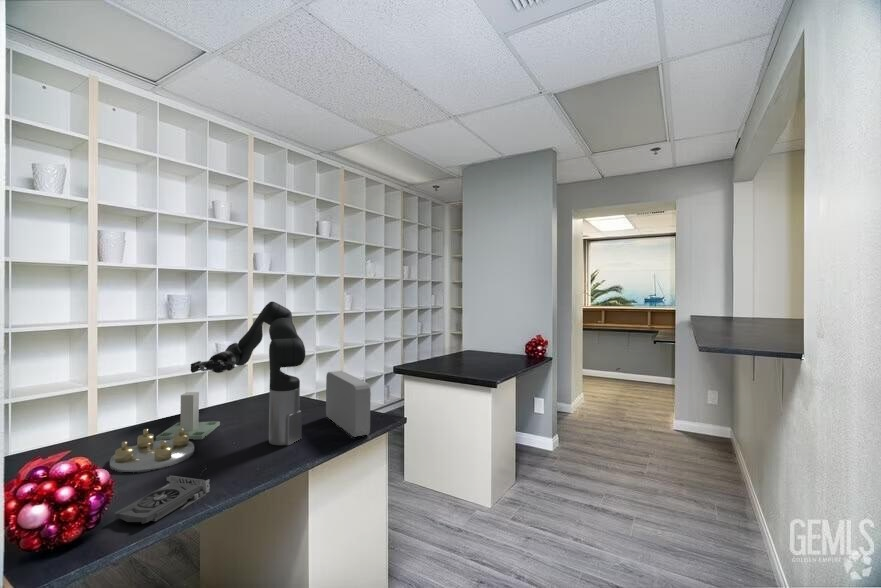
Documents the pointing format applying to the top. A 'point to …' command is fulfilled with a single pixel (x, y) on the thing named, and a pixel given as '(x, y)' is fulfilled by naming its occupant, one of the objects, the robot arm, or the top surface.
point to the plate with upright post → (189, 420)
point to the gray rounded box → (348, 402)
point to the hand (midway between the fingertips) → (204, 369)
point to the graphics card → (164, 500)
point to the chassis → (152, 453)
